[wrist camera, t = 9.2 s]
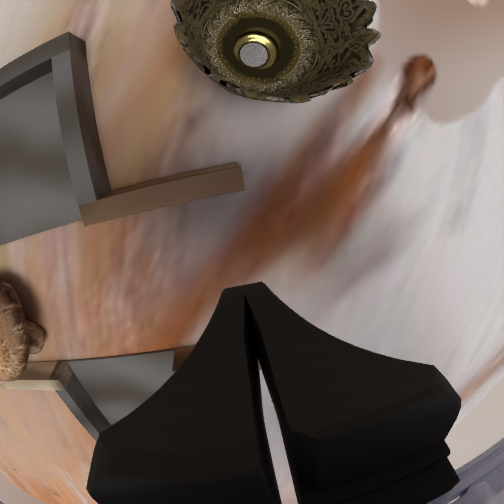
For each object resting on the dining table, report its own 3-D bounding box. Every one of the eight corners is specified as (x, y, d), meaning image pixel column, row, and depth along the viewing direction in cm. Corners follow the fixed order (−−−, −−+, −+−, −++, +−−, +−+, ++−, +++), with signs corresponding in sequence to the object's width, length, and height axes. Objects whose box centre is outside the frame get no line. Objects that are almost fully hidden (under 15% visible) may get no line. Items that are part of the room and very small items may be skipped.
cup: (216, 133, 16) (219, 134, 9) (170, 27, 14) (143, -36, 6) (333, 92, 16) (409, 75, 9) (287, -9, 13) (332, -75, 6)
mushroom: (67, 382, 18) (-1, 399, 12) (24, 366, 21) (-29, 375, 15) (53, 276, 19) (-19, 275, 13) (13, 281, 22) (-42, 281, 16)
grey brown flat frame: (281, 417, 26) (286, 437, 24) (56, 432, 25) (51, 448, 23) (209, 7, 13) (209, -10, 11) (-77, 145, 12) (-95, 149, 10)
